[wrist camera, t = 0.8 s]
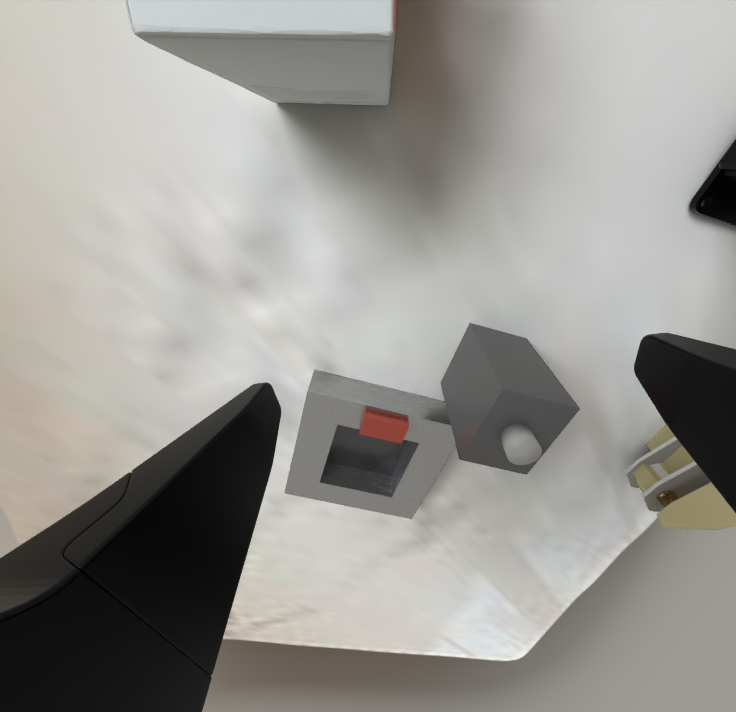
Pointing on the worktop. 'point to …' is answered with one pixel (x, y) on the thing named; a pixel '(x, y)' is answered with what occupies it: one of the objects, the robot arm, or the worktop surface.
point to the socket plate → (368, 446)
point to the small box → (281, 44)
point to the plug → (503, 400)
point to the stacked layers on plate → (678, 487)
